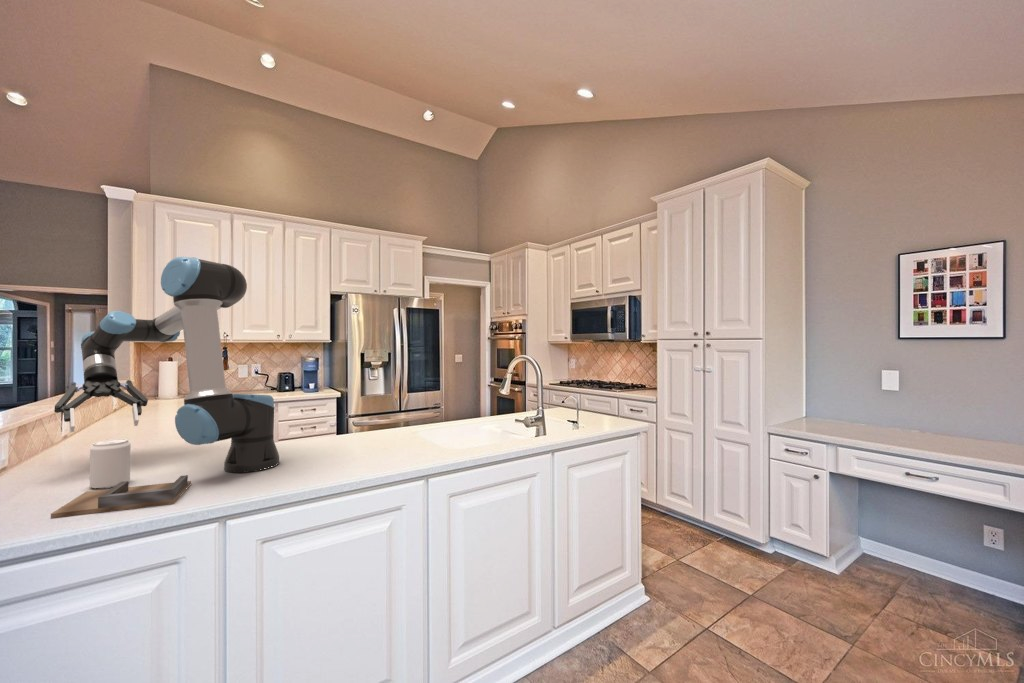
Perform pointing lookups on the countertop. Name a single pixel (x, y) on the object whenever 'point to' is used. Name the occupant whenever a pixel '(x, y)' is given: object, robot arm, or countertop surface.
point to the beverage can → (109, 463)
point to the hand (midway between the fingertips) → (105, 426)
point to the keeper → (124, 498)
